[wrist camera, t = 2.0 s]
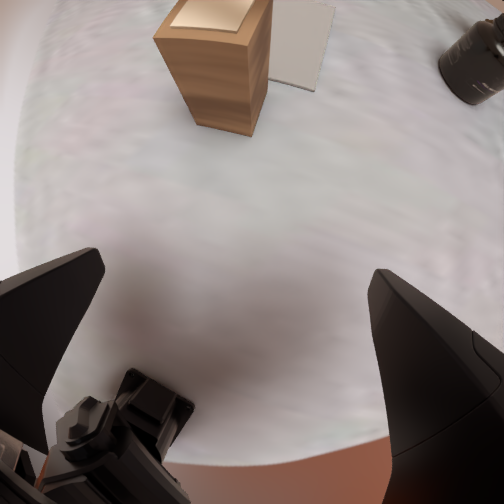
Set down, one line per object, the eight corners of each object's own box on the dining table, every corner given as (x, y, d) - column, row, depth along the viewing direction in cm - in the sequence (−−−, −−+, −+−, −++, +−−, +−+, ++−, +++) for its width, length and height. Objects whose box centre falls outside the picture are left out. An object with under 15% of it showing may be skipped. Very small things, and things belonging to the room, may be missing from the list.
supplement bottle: (468, 114, 20) (539, 71, 8) (427, 64, 19) (485, 4, 7) (487, 96, 19) (546, 58, 7) (452, 51, 19) (502, 2, 7)
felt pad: (314, 92, 20) (314, 90, 20) (179, 65, 20) (179, 63, 20) (335, 8, 19) (335, 7, 19) (227, -12, 20) (226, -14, 19)
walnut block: (251, 137, 20) (247, 43, 9) (196, 124, 20) (151, 35, 9) (267, 91, 20) (273, -10, 9) (215, 80, 20) (189, -17, 9)
